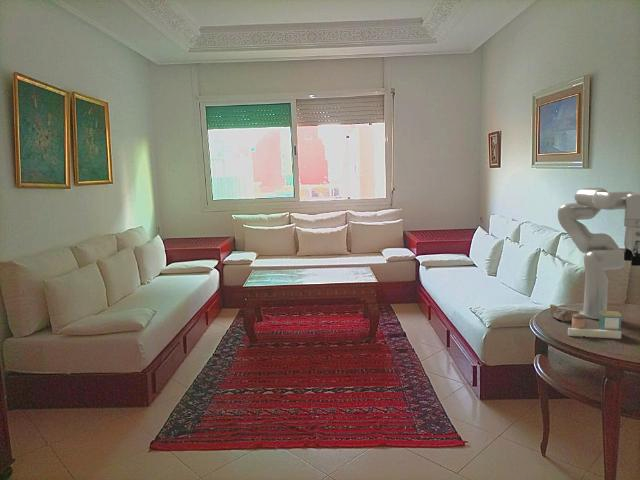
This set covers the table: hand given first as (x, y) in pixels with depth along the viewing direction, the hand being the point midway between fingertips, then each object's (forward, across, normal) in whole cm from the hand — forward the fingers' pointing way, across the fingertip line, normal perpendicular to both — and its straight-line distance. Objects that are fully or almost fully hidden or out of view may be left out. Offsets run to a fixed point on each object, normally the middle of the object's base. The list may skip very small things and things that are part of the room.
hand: (631, 262), depth 208 cm
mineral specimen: (+31, +12, +23) cm, 40 cm away
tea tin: (+30, -5, +8) cm, 32 cm away
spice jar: (+30, -6, +20) cm, 37 cm away
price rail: (+30, -9, +15) cm, 35 cm away
